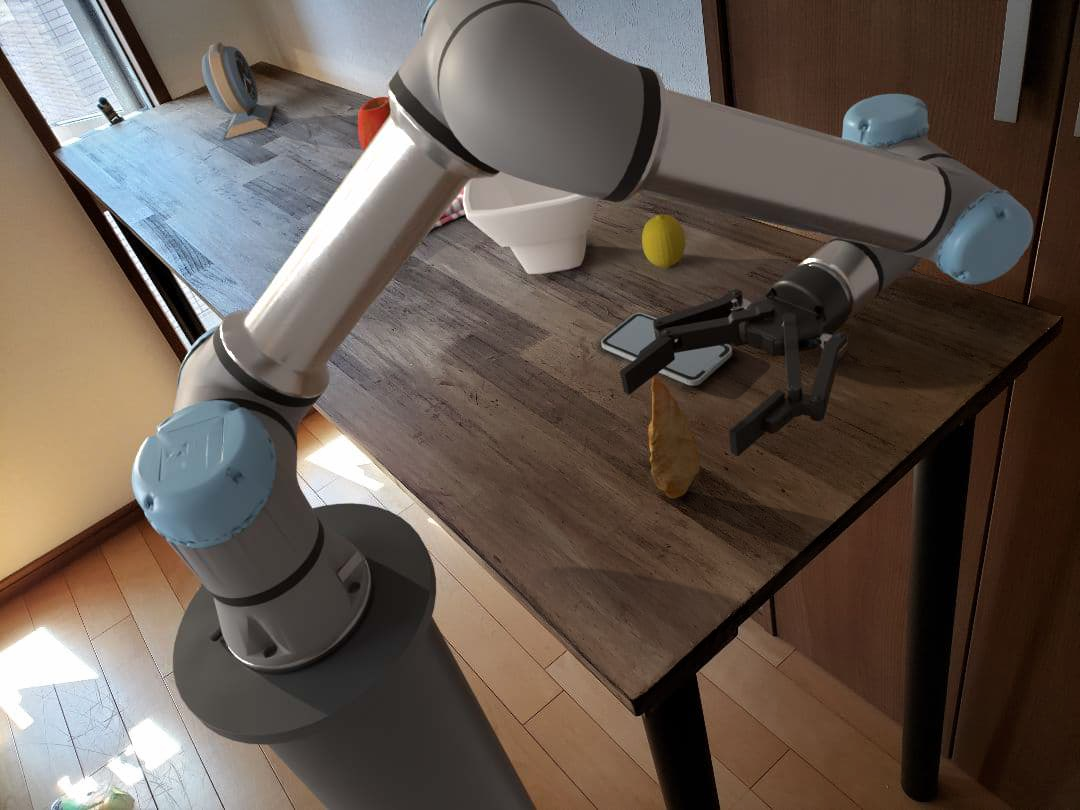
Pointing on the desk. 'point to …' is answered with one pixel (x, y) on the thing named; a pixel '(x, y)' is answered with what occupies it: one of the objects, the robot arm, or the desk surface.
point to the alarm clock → (234, 89)
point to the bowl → (531, 220)
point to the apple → (372, 119)
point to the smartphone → (686, 364)
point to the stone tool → (671, 444)
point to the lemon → (663, 240)
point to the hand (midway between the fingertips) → (675, 412)
